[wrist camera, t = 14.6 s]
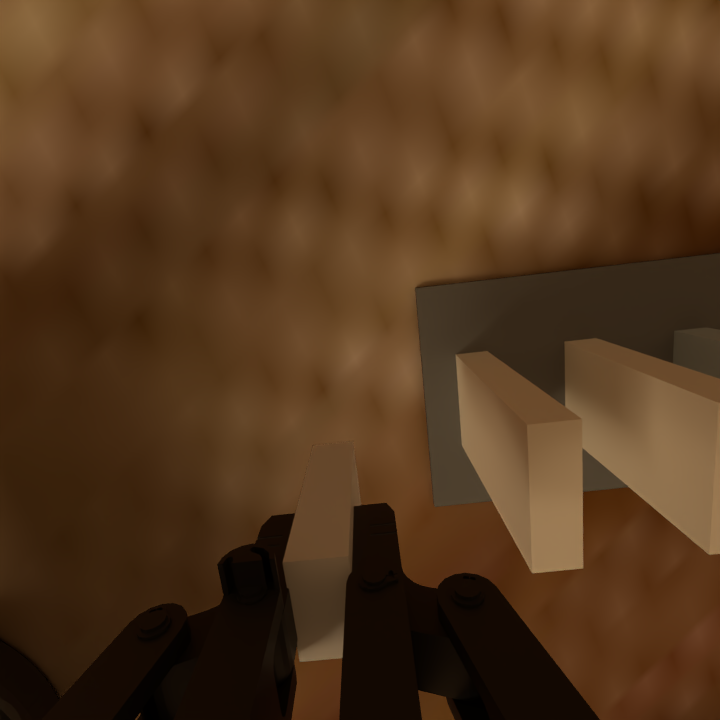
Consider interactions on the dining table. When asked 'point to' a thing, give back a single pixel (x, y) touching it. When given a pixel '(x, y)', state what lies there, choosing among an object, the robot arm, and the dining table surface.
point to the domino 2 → (651, 430)
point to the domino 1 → (524, 459)
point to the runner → (549, 340)
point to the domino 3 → (698, 350)
